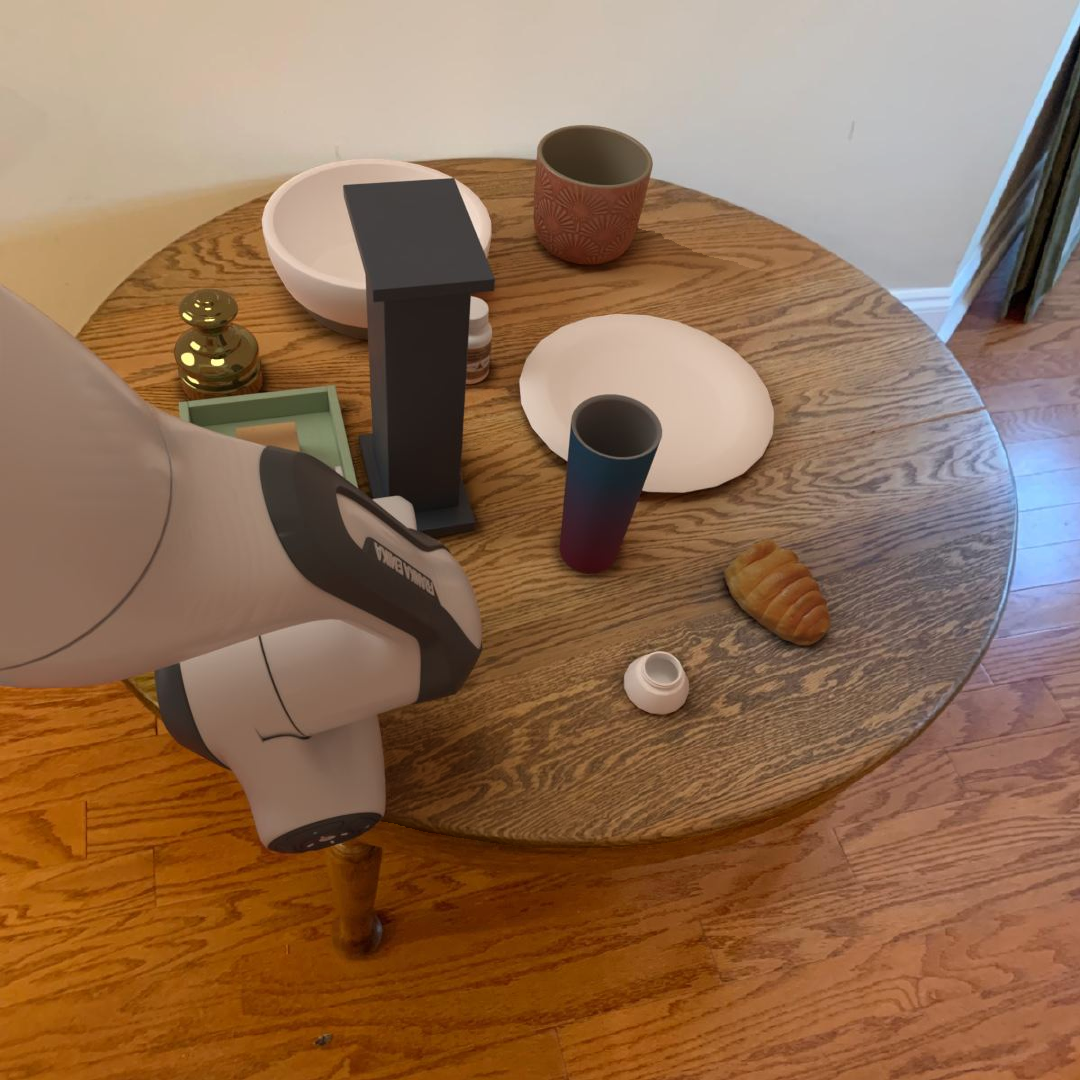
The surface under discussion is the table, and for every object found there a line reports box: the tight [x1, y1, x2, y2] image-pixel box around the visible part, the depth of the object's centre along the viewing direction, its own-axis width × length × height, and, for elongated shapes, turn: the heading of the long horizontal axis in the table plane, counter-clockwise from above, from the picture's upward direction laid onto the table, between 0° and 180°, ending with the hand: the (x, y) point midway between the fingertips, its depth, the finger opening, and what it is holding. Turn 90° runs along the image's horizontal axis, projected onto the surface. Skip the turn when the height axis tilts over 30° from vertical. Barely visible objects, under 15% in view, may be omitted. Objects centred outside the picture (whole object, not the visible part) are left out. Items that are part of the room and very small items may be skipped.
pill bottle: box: [466, 295, 493, 385], centre depth 93 cm, size 4×4×8 cm
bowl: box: [261, 158, 493, 341], centre depth 100 cm, size 22×22×8 cm
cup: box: [558, 394, 662, 575], centre depth 78 cm, size 7×7×15 cm
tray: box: [178, 384, 359, 489], centre depth 82 cm, size 14×22×3 cm, turn 16°
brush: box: [236, 422, 300, 452], centre depth 80 cm, size 16×5×3 cm, turn 15°
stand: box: [343, 177, 496, 538], centre depth 76 cm, size 8×12×26 cm, turn 16°
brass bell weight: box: [173, 288, 264, 401], centre depth 88 cm, size 7×7×10 cm
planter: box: [533, 124, 654, 266], centre depth 107 cm, size 12×12×11 cm
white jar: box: [623, 650, 690, 715], centre depth 74 cm, size 5×3×5 cm
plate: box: [518, 313, 775, 495], centre depth 95 cm, size 25×25×2 cm
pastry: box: [723, 538, 832, 646], centre depth 80 cm, size 9×7×4 cm
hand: (271, 480), depth 76 cm, fingers open, 8 cm apart
